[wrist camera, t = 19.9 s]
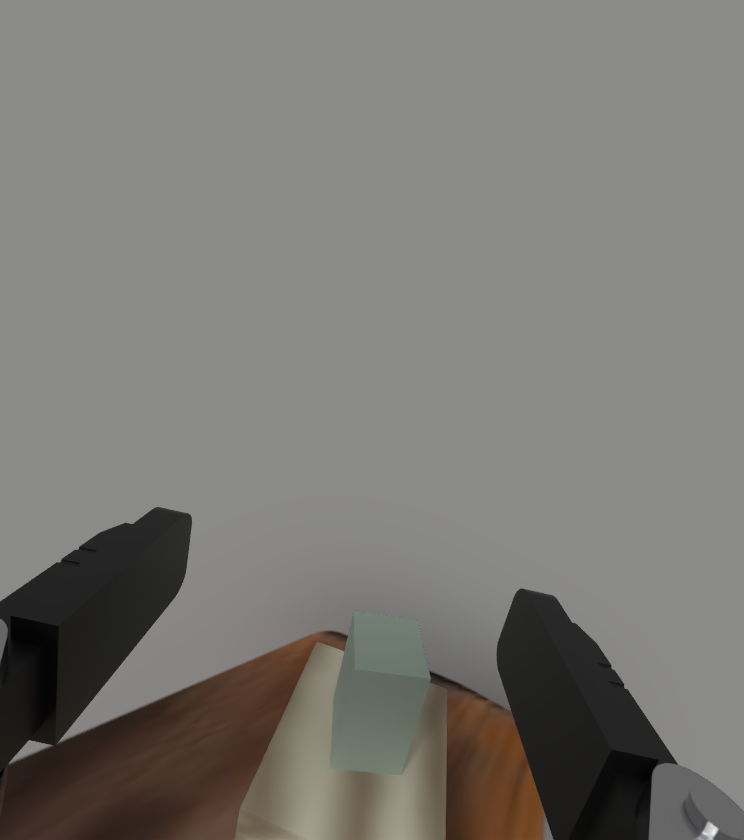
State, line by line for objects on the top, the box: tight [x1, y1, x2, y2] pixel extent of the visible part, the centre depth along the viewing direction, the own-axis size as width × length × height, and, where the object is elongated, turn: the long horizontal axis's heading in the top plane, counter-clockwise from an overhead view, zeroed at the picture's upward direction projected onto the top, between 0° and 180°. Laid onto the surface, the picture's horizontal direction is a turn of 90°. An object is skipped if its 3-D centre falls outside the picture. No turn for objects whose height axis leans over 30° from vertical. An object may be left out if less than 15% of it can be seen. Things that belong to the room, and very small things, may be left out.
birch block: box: [234, 642, 447, 840], centre depth 32 cm, size 14×15×6 cm
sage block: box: [330, 611, 431, 775], centre depth 31 cm, size 6×6×10 cm
